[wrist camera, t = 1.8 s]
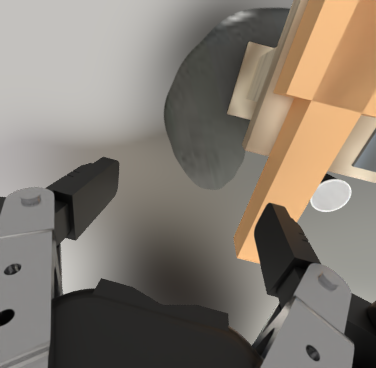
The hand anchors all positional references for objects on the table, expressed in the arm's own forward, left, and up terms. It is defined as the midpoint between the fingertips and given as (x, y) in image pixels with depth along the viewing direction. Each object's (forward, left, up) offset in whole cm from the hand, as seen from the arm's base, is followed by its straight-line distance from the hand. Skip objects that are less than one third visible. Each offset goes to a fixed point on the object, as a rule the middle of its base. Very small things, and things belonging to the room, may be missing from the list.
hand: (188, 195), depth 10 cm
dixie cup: (-30, +9, -41) cm, 52 cm away
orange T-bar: (-8, -2, -9) cm, 12 cm away
